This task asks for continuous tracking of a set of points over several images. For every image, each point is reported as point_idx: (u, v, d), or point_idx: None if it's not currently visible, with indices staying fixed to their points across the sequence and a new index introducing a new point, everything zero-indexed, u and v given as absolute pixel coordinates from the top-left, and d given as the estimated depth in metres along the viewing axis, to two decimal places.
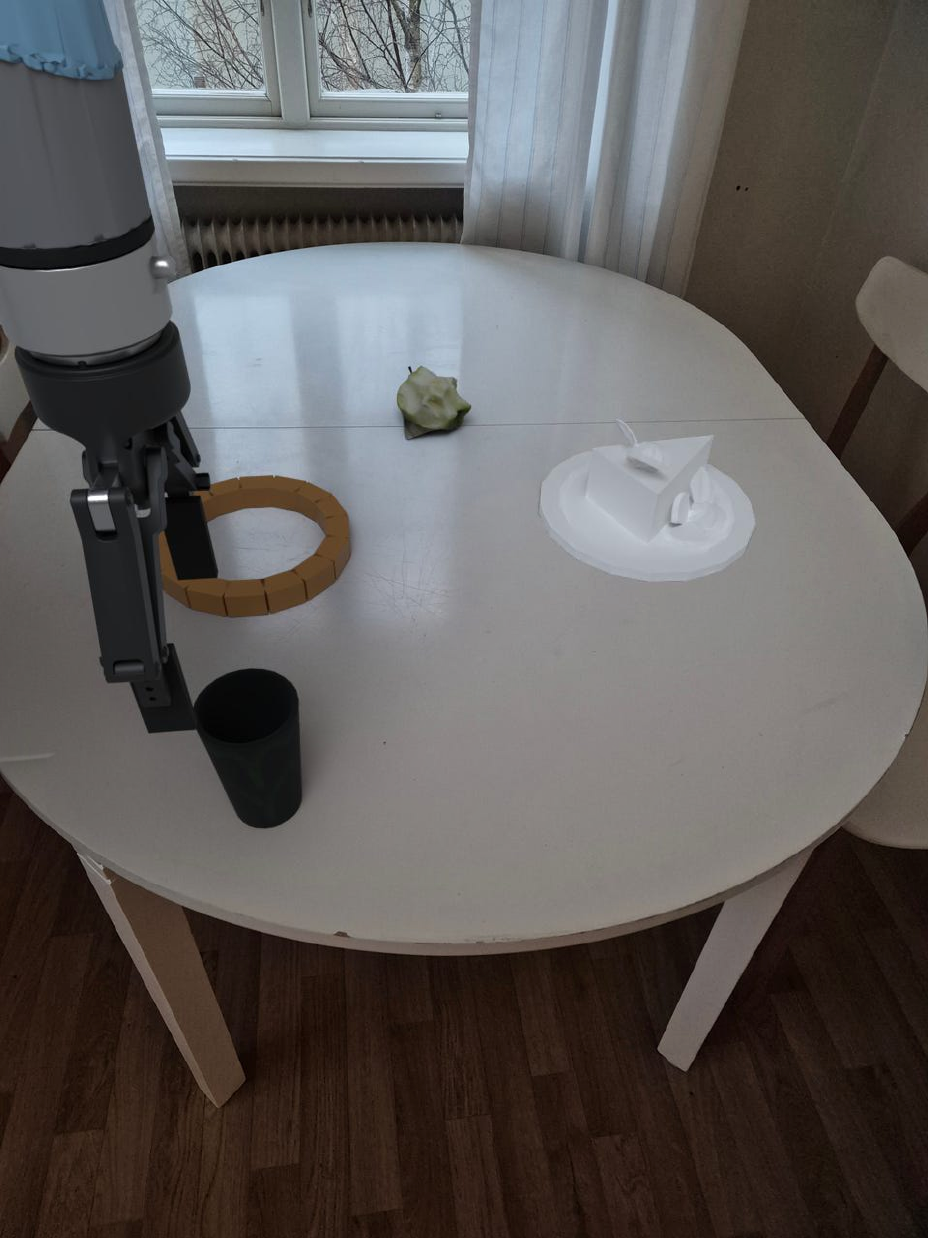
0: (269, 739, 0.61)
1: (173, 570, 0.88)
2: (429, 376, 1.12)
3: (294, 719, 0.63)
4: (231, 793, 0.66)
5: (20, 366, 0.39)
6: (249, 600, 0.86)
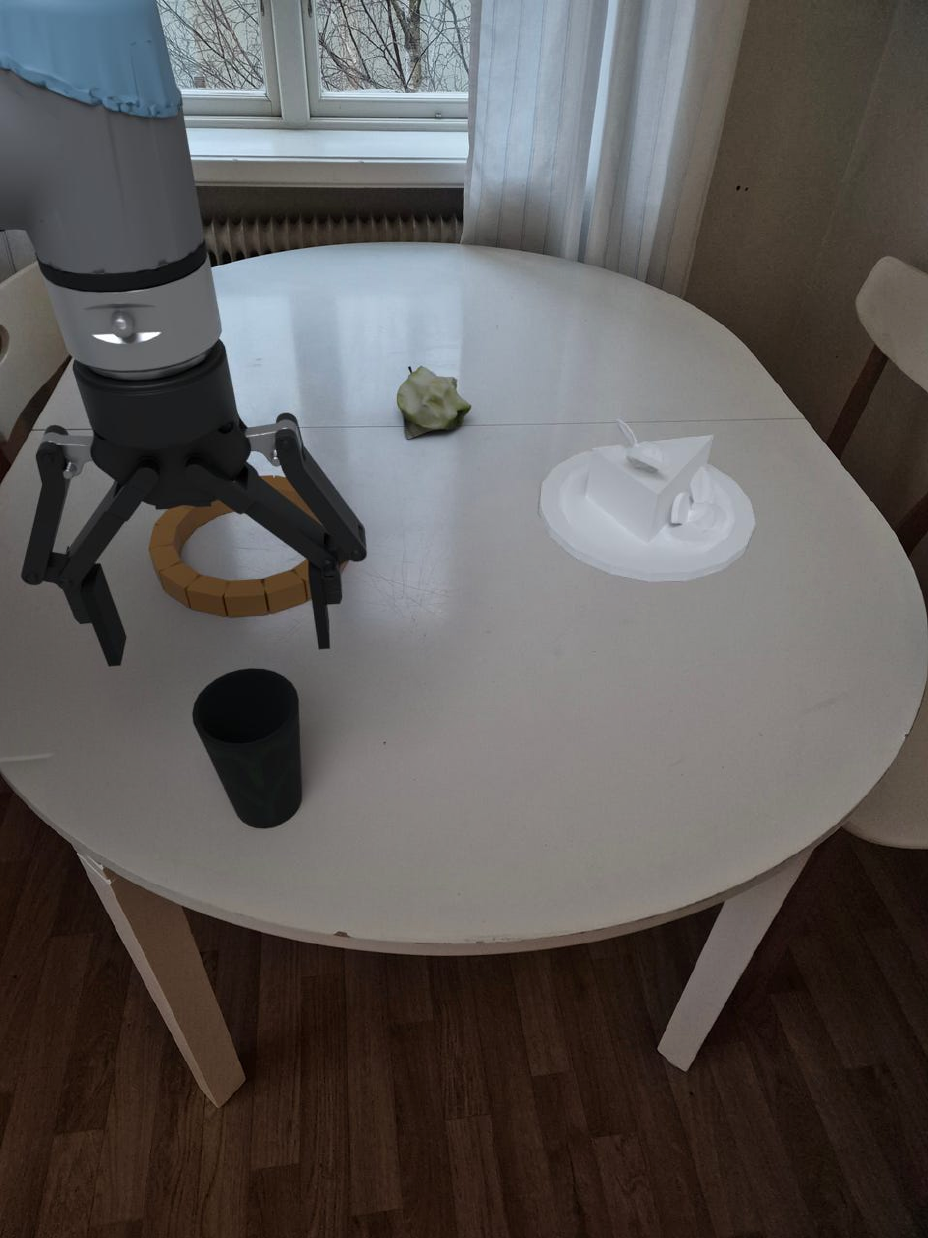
0: (269, 739, 0.61)
1: (173, 570, 0.88)
2: (429, 376, 1.12)
3: (294, 719, 0.63)
4: (231, 793, 0.66)
5: None
6: (249, 600, 0.86)
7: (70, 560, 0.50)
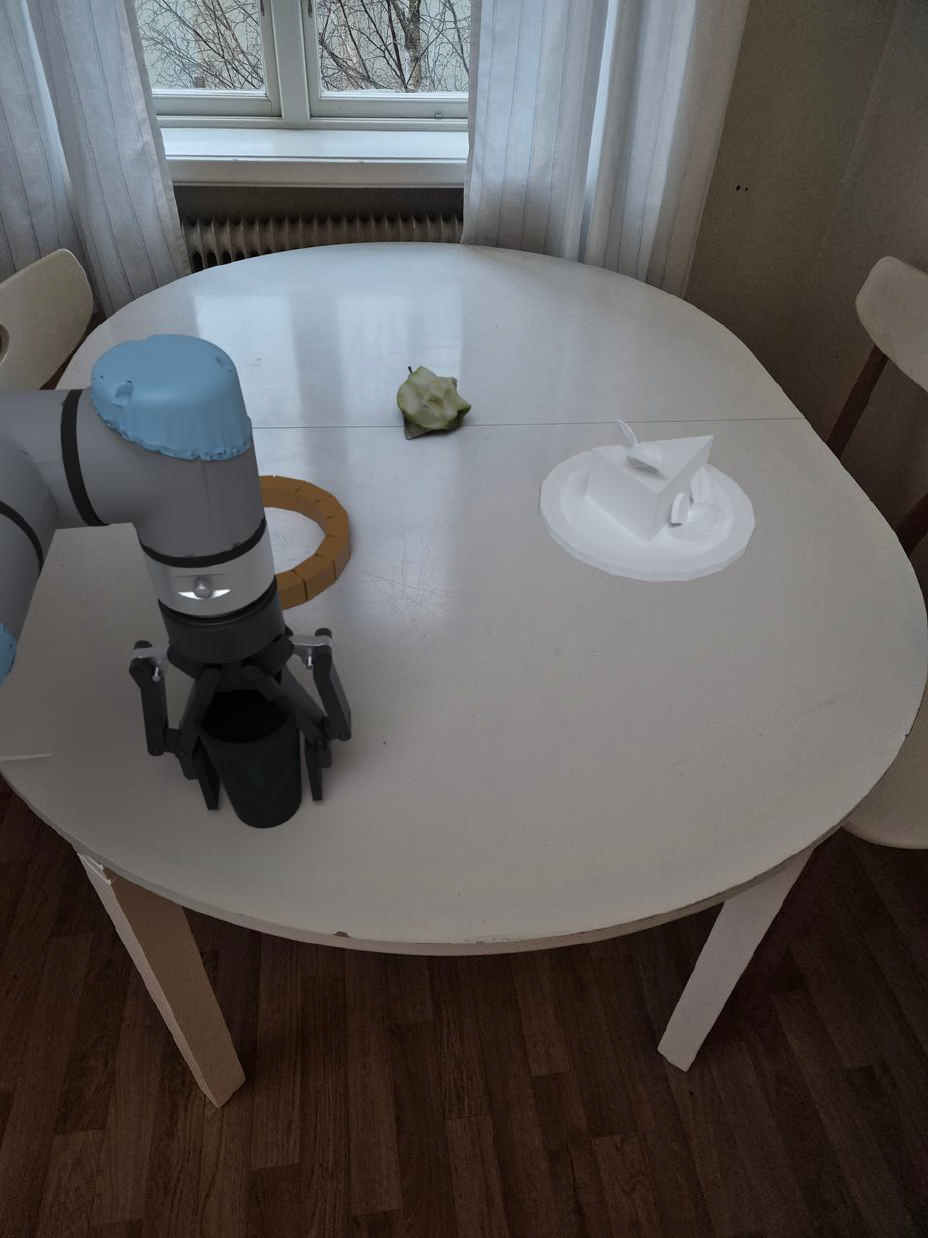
0: (269, 739, 0.61)
1: None
2: (429, 376, 1.12)
3: (294, 719, 0.63)
4: (231, 793, 0.66)
5: None
6: None
7: (179, 739, 0.63)
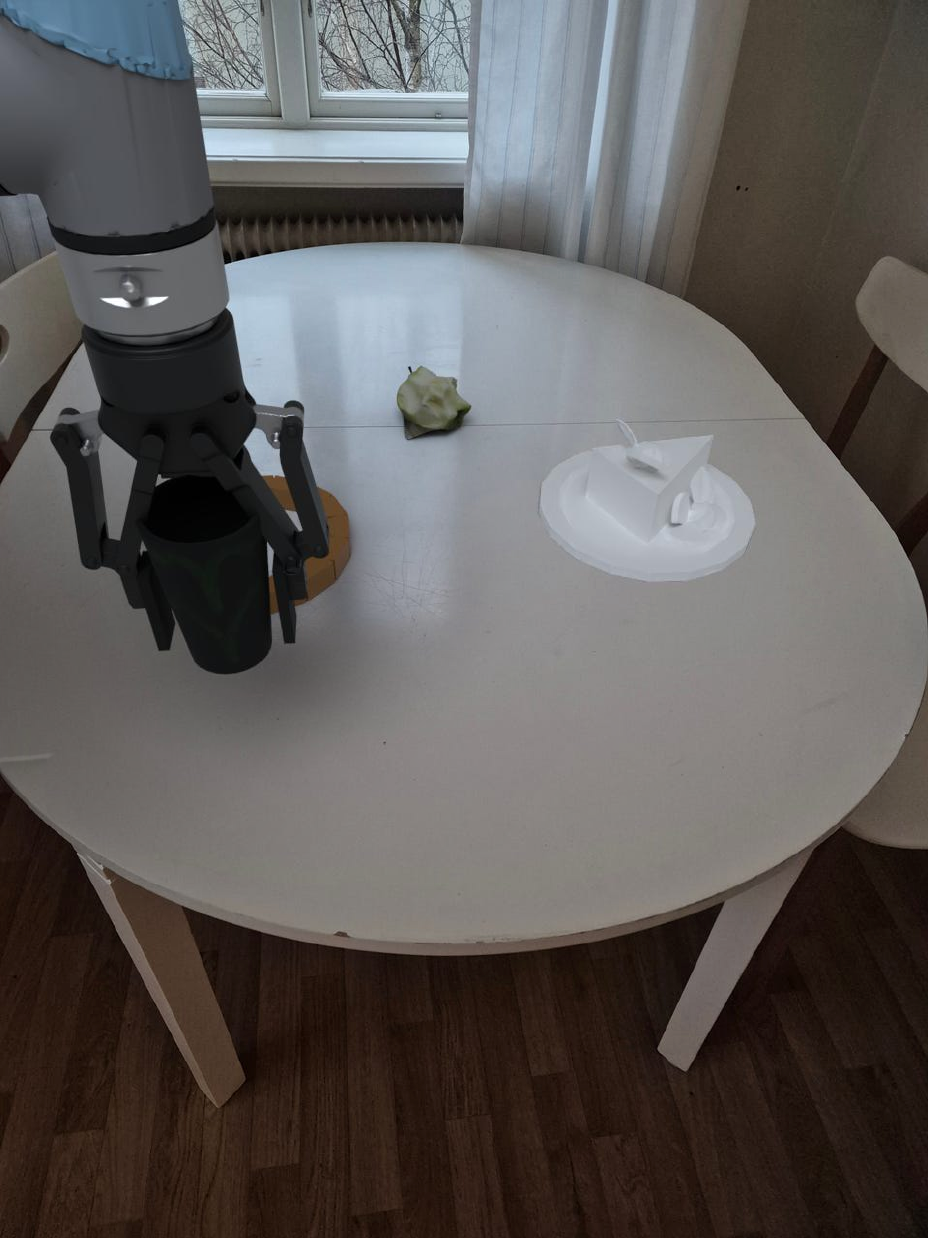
0: (226, 539, 0.50)
1: None
2: (429, 376, 1.12)
3: (258, 522, 0.52)
4: (184, 622, 0.55)
5: None
6: None
7: (119, 545, 0.52)
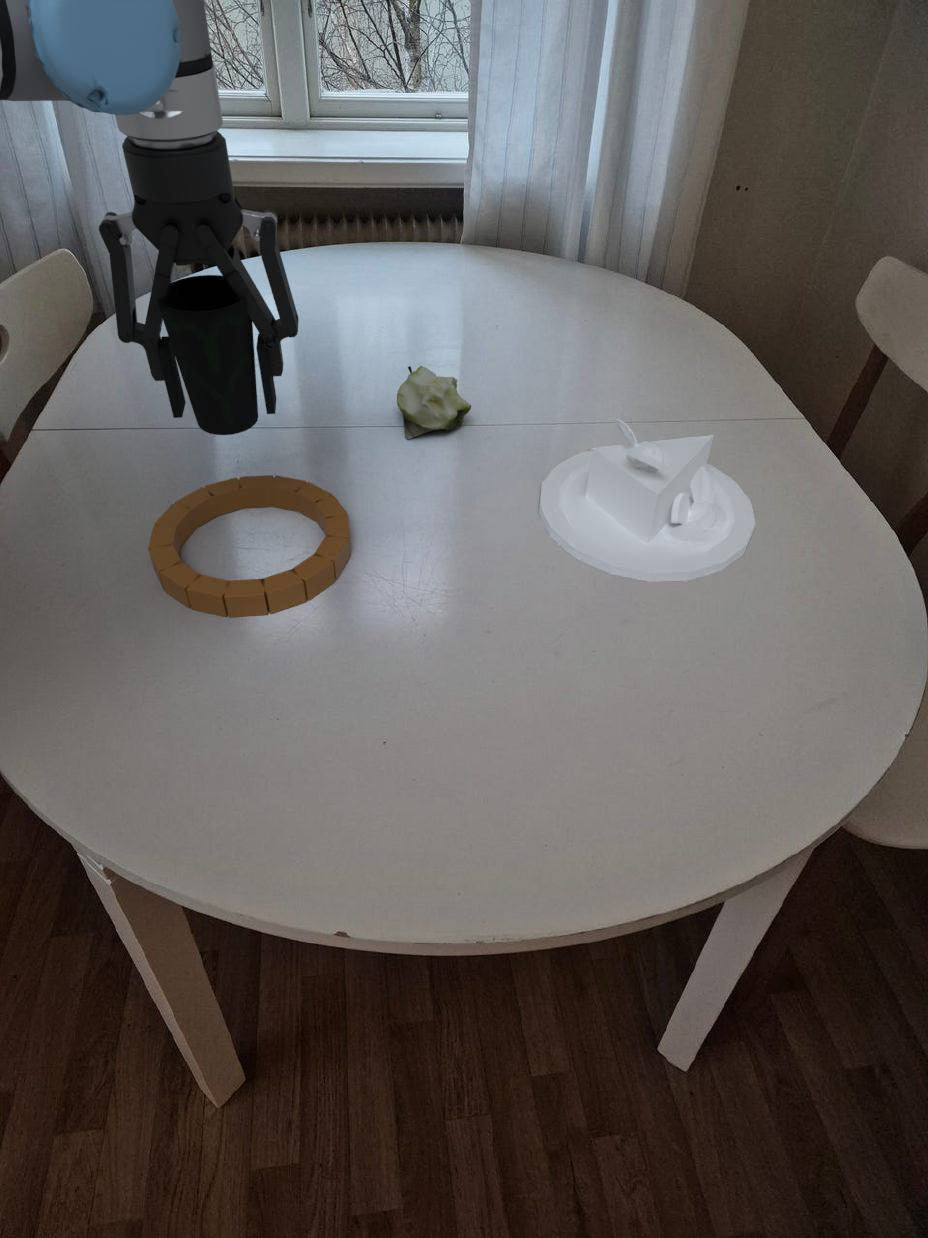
0: (222, 310, 0.70)
1: (173, 570, 0.88)
2: (429, 376, 1.12)
3: (245, 302, 0.72)
4: (192, 387, 0.75)
5: None
6: (249, 600, 0.86)
7: (145, 322, 0.72)
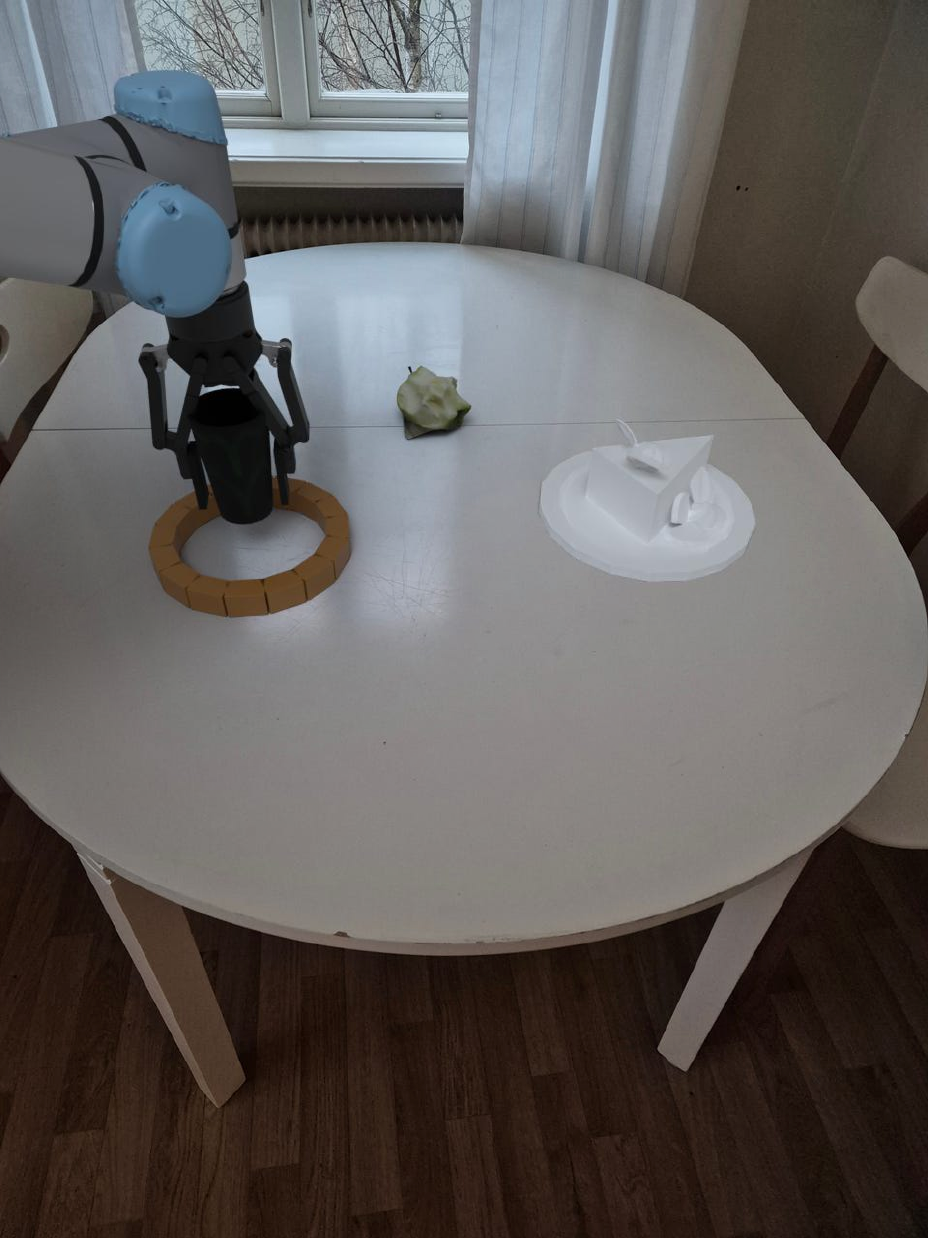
0: (244, 425, 0.80)
1: (173, 570, 0.88)
2: (429, 376, 1.12)
3: (264, 416, 0.82)
4: (217, 486, 0.86)
5: None
6: (249, 600, 0.86)
7: (176, 433, 0.83)
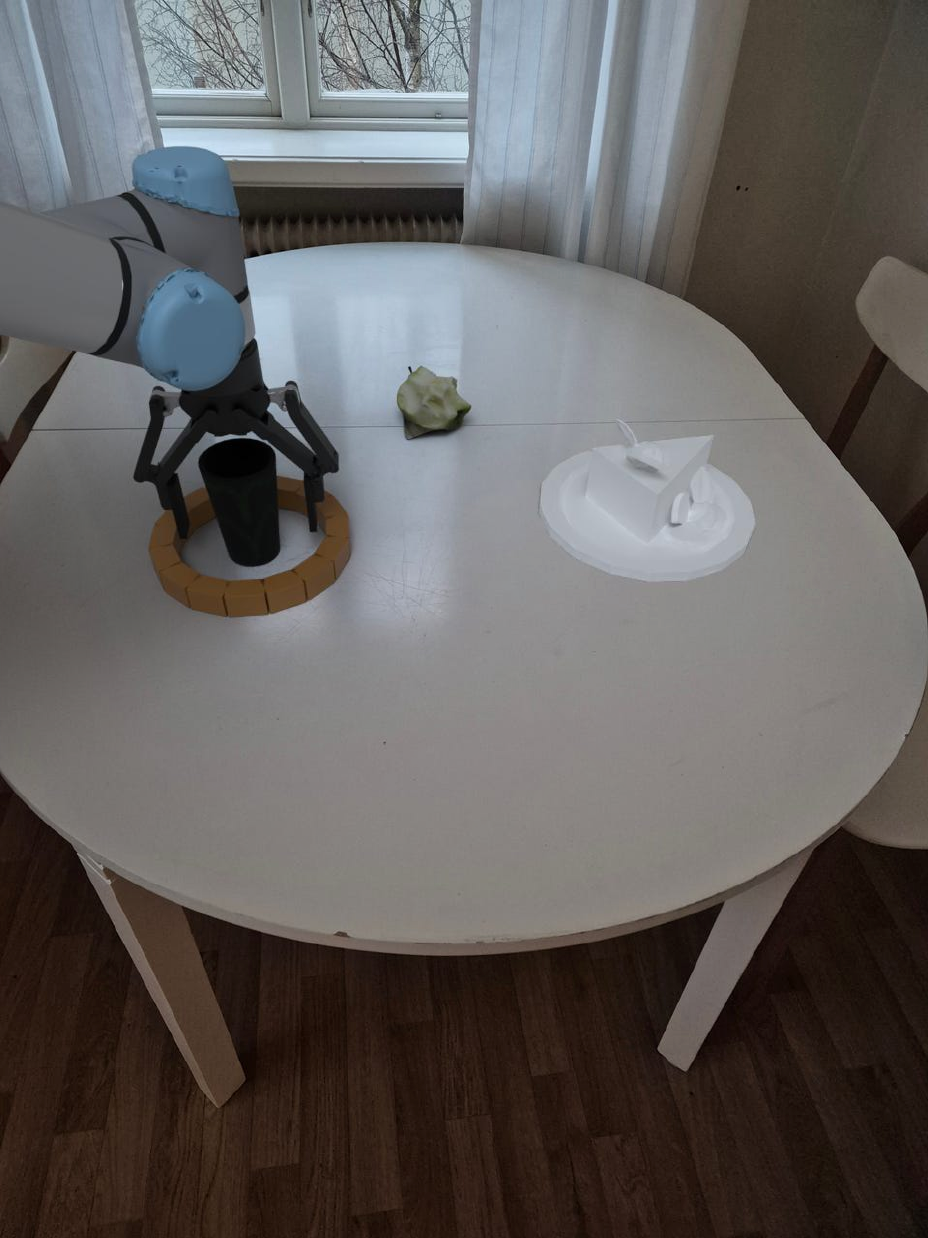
0: (254, 476, 0.84)
1: (173, 570, 0.88)
2: (429, 376, 1.12)
3: (272, 466, 0.86)
4: (226, 531, 0.90)
5: None
6: (249, 600, 0.86)
7: (162, 467, 0.85)
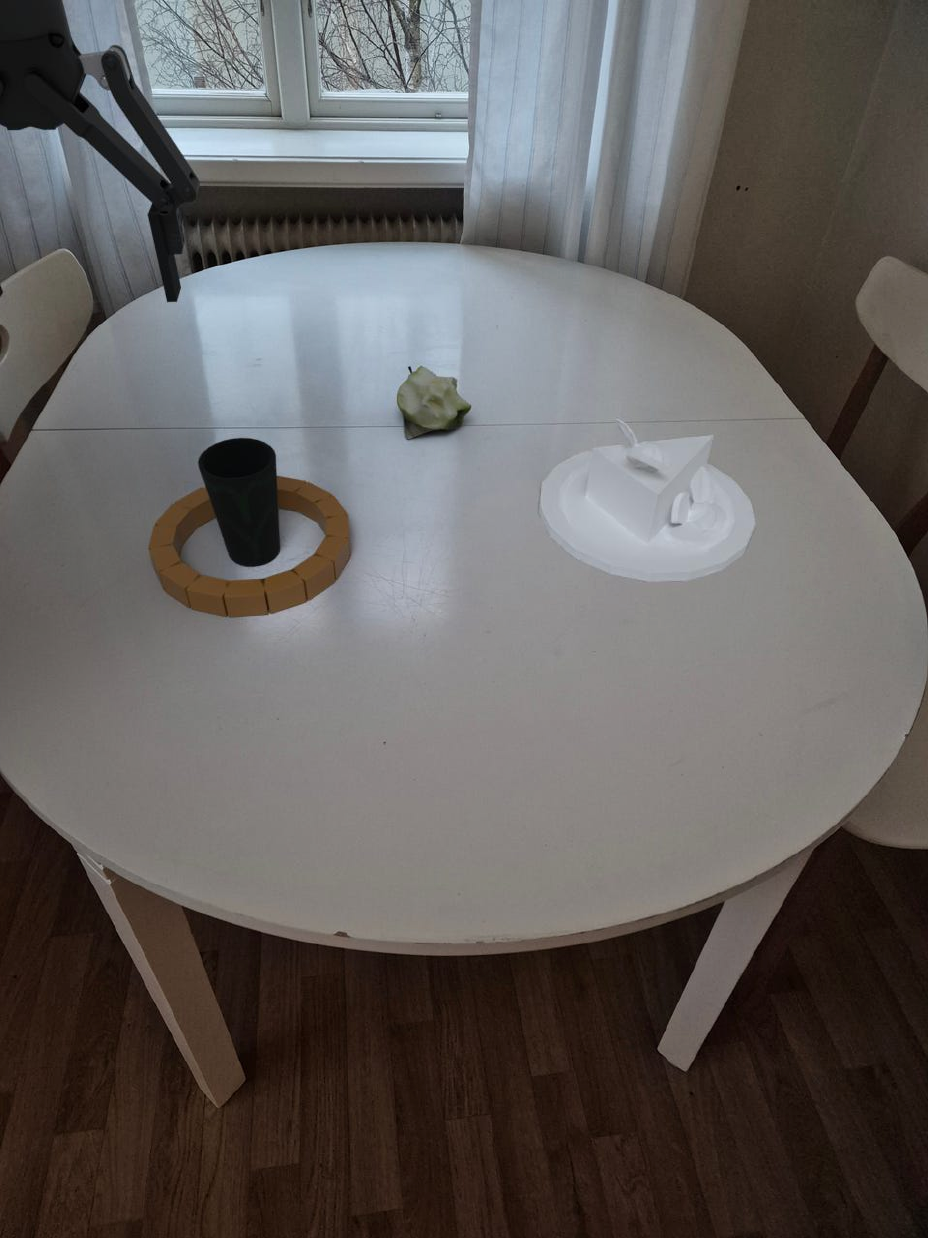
0: (254, 476, 0.84)
1: (173, 570, 0.88)
2: (429, 376, 1.12)
3: (272, 466, 0.86)
4: (226, 531, 0.90)
5: None
6: (249, 600, 0.86)
7: None
